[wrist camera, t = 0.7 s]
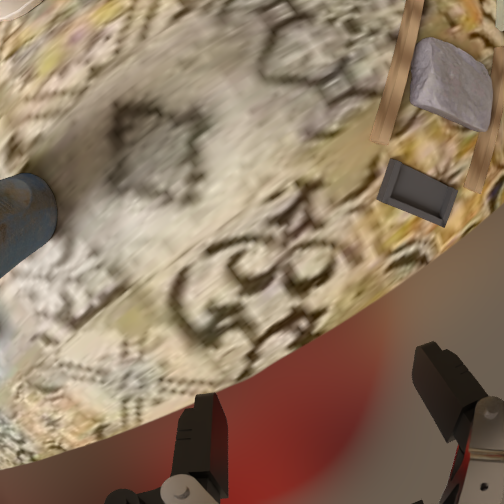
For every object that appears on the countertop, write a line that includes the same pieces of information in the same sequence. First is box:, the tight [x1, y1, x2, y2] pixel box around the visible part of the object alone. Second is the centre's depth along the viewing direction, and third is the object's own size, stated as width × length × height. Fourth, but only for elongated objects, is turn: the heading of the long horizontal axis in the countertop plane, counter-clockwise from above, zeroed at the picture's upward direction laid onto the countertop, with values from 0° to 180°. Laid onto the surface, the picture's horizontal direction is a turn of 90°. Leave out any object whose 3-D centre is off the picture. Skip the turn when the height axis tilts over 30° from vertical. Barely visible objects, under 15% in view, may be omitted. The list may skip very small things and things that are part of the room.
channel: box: [369, 0, 504, 194], centre depth 29 cm, size 22×16×2 cm
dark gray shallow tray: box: [377, 159, 458, 228], centre depth 34 cm, size 5×10×2 cm, turn 74°
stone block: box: [410, 37, 493, 132], centre depth 29 cm, size 12×5×10 cm
